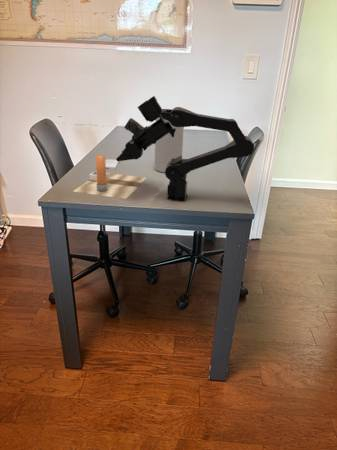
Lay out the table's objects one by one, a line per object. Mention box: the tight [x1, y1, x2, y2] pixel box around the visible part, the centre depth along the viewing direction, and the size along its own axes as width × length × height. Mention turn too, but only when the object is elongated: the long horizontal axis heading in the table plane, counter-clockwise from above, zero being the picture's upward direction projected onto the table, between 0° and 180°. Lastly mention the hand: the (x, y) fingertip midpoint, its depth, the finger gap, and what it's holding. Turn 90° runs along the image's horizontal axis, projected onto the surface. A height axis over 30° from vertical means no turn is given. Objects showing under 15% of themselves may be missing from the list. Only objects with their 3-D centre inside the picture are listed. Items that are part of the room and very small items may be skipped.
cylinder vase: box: [154, 118, 185, 174], centre depth 152 cm, size 12×12×25 cm
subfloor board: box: [73, 172, 147, 200], centre depth 133 cm, size 21×24×2 cm
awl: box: [95, 154, 108, 192], centre depth 124 cm, size 4×4×13 cm
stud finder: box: [88, 171, 108, 181], centre depth 136 cm, size 6×4×2 cm, turn 76°
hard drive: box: [105, 158, 120, 171], centre depth 160 cm, size 2×8×12 cm
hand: (119, 156), depth 122 cm, fingers open, 9 cm apart
